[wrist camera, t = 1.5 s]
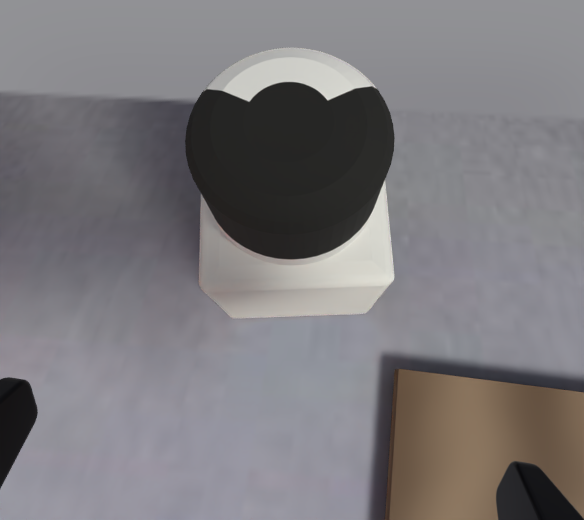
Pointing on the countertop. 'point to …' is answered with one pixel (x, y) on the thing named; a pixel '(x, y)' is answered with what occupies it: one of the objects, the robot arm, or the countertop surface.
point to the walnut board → (477, 443)
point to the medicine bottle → (292, 186)
